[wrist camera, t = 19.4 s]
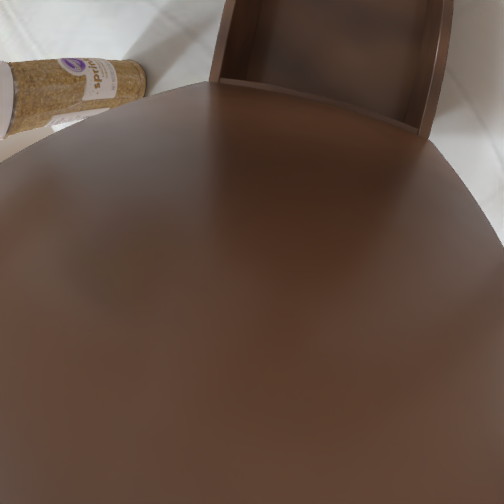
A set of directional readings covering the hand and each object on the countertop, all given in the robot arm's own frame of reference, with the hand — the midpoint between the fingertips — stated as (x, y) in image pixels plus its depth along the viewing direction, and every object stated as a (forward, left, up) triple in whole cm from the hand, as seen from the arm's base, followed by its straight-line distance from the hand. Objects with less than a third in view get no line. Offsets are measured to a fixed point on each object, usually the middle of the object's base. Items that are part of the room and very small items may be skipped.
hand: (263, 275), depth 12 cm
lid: (-6, 0, +4) cm, 7 cm away
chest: (-14, 0, -9) cm, 17 cm away
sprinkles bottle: (-6, -15, -9) cm, 19 cm away
